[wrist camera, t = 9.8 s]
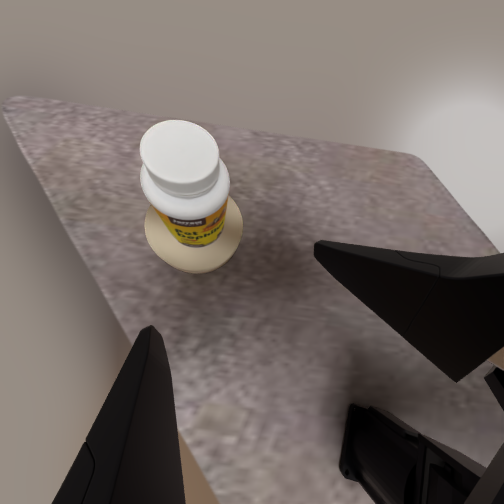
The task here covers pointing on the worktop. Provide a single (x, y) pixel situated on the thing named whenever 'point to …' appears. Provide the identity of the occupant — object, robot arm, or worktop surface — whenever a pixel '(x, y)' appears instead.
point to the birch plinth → (195, 257)
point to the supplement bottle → (185, 181)
